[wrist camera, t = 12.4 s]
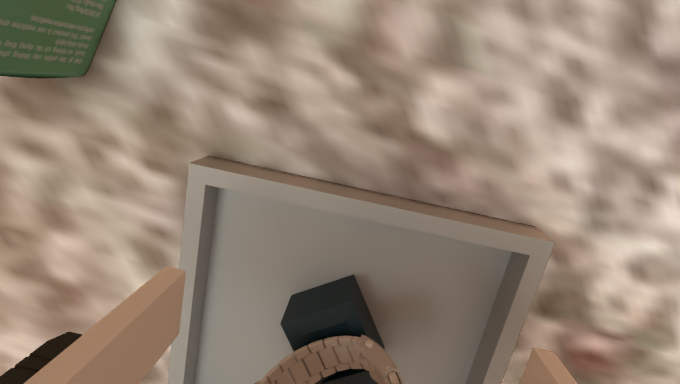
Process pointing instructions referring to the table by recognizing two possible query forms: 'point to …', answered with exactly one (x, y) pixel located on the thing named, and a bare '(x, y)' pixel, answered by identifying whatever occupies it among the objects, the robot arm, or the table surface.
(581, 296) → the table surface
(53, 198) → the table surface
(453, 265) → the tray
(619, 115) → the table surface
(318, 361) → the watch
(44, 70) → the box
